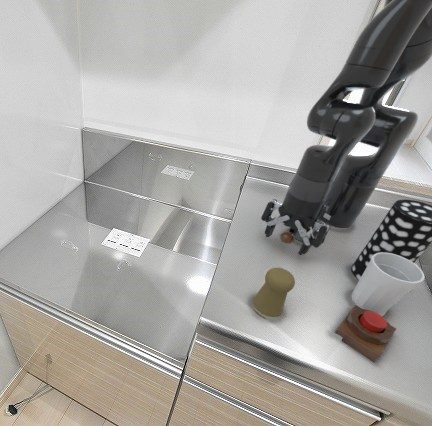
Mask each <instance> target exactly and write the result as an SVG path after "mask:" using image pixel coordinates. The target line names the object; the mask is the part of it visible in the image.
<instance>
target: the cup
mask: <svg viewBox="0 0 432 426" xmlns="http://www.w3.org/2000/svg"><path fill="white" fill-rule="evenodd" d="M424 280H425V274H424V271H423V269H421V267H419V265H417V264H416V263H413V262H411V261H410V260H408V259H406V258H404V257H401V256H399V255H396V254H392V253H385V252H381V253H376V254H374V255H373V256H372V258H371V260H370V262H369V264H368V266H367V268H366V269H365V271H364V273H363V275H362V277H361V278H360V280H358V282H357V283H356V285H355V287H354V289H353V291H352V292H351V299H352V302H354V304H355V305H357V306H358V307H360V308H362V309H366V310H370V311H373V312H375V313H377V314H379V315H381V316H382V317H383V316H385V315H386V313H387V312H388V311H389V310H390V309H391V308H392V307H394V306H395V304H397V303H398V302H399V301H400V300H401V299H403V297H405V296H406V295H408V293H409V292H411V291H412V290H413V289H415V288H416V287H417V286H418V285H419V284H421V283H422V282H423V281H424Z"/></svg>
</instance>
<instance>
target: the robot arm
mask: <svg viewBox="0 0 432 426" xmlns="http://www.w3.org/2000/svg"><path fill="white" fill-rule="evenodd" d="M431 58H432V0H384V3H383V7H382V9H381V10H380V11H379V12H378V13H376V14H375V16H373V18H372V19H371V20H370V21H369V22H368V23H367V24H366V25H365V27H364V28H363V29H362V31H361V32H360V33H359V35H358V37H357V38H356V40H355V42H354V44H353V47H352V49H351V50H350V52H349V54H348V57H347V59H346V60H345V62H344V65H343V67H342V68H341V70H340V72H339V73H338V75H337V76H336V78H334V80H333V81H332V82H331V83H330V85H329V86H328V87H327V89H326V90H325V91H324V93H323V94H322V95H321V96H320V98H319V99H318V100H317V101H316V102H315V103H314V105H313V106H312V107H311V109H310V110H309V113H308V114H307V118H306V126H307V129H308V130H309V131H310V132H311V133H312V134H316V135H319V136H322V137H326V138H328V139H332V140H335V141H334V142H335V143H334V144H333V145H326V144H313V145H310V146H308V147H307V148H306V149H305V151H304V152H303V155H302V157H301V159H300V162H299V164H298V167H297V169H296V172H295V173H294V175H293V177H292V179H291V181H290V183H289V185H288V189H287V192H286V194H285V196H284V199H283V201H282V203H280V202H278V200H277V199H276V198H273V199H271V200H270V201H269V202H267V204H266V206H265V209H264V211H263V213H262V216H261V218H260V219H261V220H262V222H265V223H266V228H265V229H264V235H265V237H266V238H270V237H271V236H272V235H273V234H274V231H275V228H276V226H277V225H278V224H280V223H283V225H284V226H286V227H289V228H290V227H291V228H292V229H294V230H296V231H297V230H298V231H299V234H300V236H301V237H302V238H303V241H304V243H302V244H301V246H300V248H299V250H298V253H297V255H299V256H302V255H306V254H307V253H308V252H309V250H310V249H311V247H314V248H319V247H320V246H321V245H323V244H324V242H325V240H326V238H327V235H328V233H329V230H330V229H331V227H332V228H336V229H343V230H346V229H351V228H352V227H354V225H355V223H356V221H357V219H358V217H359V216H360V215H361V213H362V211H363V210H364V208H365V206H366V204H367V203H368V201H369V199H370V198H371V196H372V194H373V193H374V191H375V190H376V188H377V187H378V184H379V183H380V181H381V179H382V177H384V175H385V174H386V171H387V170H388V169H389V167H390V165H391V164H392V163H393V161H394V159H395V157H396V156H397V154H398V153H399V151H400V150H401V148H402V147H403V146H404V144H405V142H406V141H407V139H408V138H410V136H411V134H412V132H413V131H414V129H415V128H416V126H417V123H418V121H419V116H418V114H417V112H415V111H412V110H407V109H403V108H398V107H394V106H388V105H385V104H383V101H384V98H385V96H386V95H387V94H389V92H390V91H391V90H392V89H394V88H396V86H398V85H399V84H401V83H402V82H403V81H405V80H406V79H408V78H409V77H411V76H412V75H413V74H415V73H416V72H417V71H419V70H420V69H422V67H423V66H424V65H426V64H427V63H428V61H429V60H430V59H431ZM357 90H358V91H359V90H363V91H362V93H361V97H360V99H359V103H358V102H354V101H349V100H346V98H347V96H348V95H350V94H351V93H352V92H353V91H357ZM359 143H360V144H363V145H367V146H370V147H373V148H376V149H377V150H376V151H375V152H354V153H351V152H352V151H353V150H354V148H356V147H357V145H358V144H359ZM328 197H329V198H331V199H332V201H331V203H330V205H329V209H328V210H327V211H326V212H325V214H324V216H323V218H322V220H321V222H319V221H317V215H318V213H319V211H320V209H321V207H322V205H323V203H324V201H325V200H326V199H327V198H328ZM276 210H278V211H277V212H278V213H279V215H278V216H275V217H272V214H273V212H274V211H276ZM312 226H316V230H317V232H318V234H317V235H316V236H315V237H314V236H313V234H312V232H313V230H312Z"/></svg>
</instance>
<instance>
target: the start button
mask: <svg viewBox="0 0 432 426" xmlns="http://www.w3.org/2000/svg"><path fill="white" fill-rule="evenodd" d="M359 321H360V323H361V325H362V326H363V327H364V328H366V329H367V330H369V331H371V332H374V333H380V332H382V331H383V329H384V328H385V327H386V326H387V322H388V321H387V320H386V318H384V317H383V316H381V315H379V314H377V313H375V312H372V311H366V312H364V313H363V315H362V316H361V317H360V319H359ZM386 321H387V322H386Z"/></svg>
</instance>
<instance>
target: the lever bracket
mask: <svg viewBox="0 0 432 426" xmlns="http://www.w3.org/2000/svg"><path fill="white" fill-rule="evenodd" d="M331 201H332V199H331V198H329V197H328V198H327V199H326V200H325V201H324V203H323V205H322V207H321V209H320V211H319V213H318V215H317V221H319V222H322V221H321V220H322V218H323V216H324V214H325V212H326V211H327V210H328V209H329V205H330V203H331ZM290 229H291V227H289V228H287V229H286V230H285V231H290ZM312 230H313V232H312V234H313V236H314V238H316V236H317V234H318V232H317V230H316V226H312ZM294 236H295V239H294V240H296V241H298V242H299V243H302V244H303V243H304V241H303V238H302V237H301V236H300V234H299V231H298V230H297V231H296V232H295V233H294Z"/></svg>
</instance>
